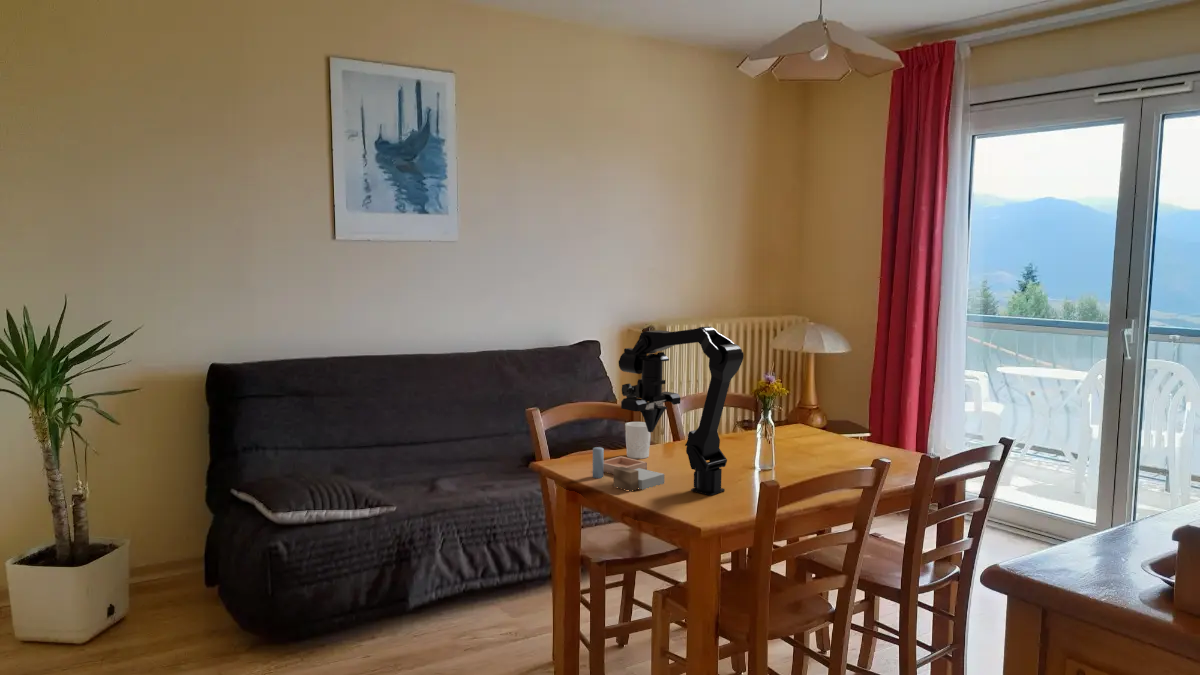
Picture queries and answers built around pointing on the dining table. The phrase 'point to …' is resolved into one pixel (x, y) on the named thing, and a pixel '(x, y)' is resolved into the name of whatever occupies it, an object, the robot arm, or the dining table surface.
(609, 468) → the tray
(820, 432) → the dining table surface
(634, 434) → the white cup
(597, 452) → the dowel
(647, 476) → the flat grey square block
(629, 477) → the block
